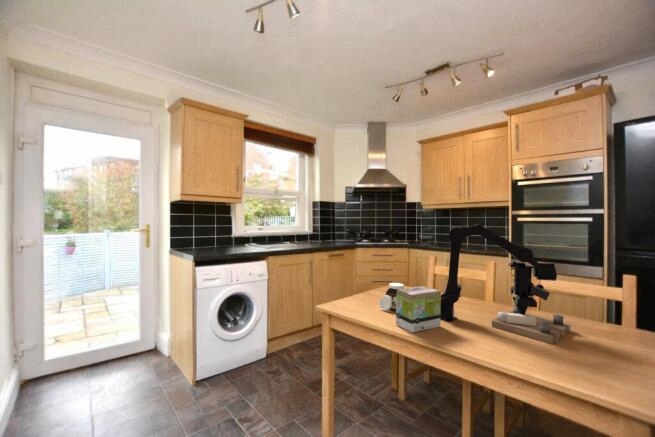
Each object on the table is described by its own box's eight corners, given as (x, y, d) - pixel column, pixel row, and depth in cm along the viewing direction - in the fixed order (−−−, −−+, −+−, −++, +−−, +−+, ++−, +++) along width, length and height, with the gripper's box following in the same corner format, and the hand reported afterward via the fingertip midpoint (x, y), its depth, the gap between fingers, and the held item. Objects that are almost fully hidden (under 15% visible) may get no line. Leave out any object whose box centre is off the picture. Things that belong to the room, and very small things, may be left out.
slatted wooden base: (552, 344, 100) (552, 328, 100) (491, 326, 116) (491, 312, 116) (570, 330, 112) (570, 316, 112) (513, 316, 128) (513, 303, 128)
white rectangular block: (498, 321, 115) (498, 314, 115) (497, 318, 118) (497, 311, 118) (536, 326, 110) (536, 318, 110) (533, 322, 113) (533, 315, 113)
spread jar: (409, 308, 140) (409, 284, 139) (401, 315, 130) (401, 289, 130) (385, 304, 146) (385, 281, 146) (376, 310, 136) (376, 285, 136)
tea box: (413, 334, 109) (413, 294, 109) (395, 325, 118) (395, 288, 118) (441, 327, 116) (441, 290, 116) (422, 319, 125) (422, 284, 125)
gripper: (554, 286, 103) (554, 330, 103) (541, 275, 120) (541, 312, 120) (517, 283, 107) (517, 325, 108) (510, 273, 124) (509, 308, 125)
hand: (522, 317), depth 115 cm, fingers closed
